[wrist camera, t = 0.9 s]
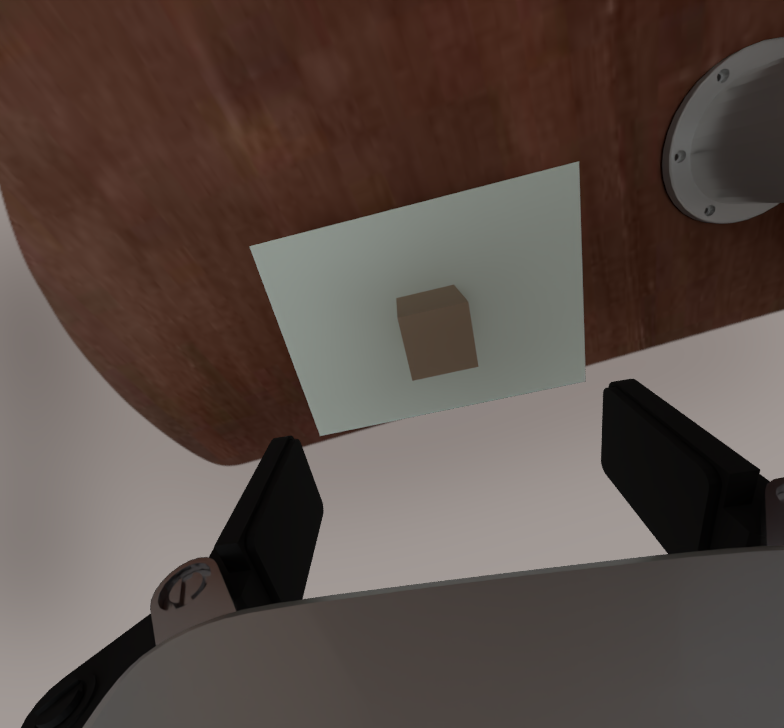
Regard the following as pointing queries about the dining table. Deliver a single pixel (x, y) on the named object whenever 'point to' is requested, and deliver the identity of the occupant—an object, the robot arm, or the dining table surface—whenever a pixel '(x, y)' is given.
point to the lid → (434, 302)
